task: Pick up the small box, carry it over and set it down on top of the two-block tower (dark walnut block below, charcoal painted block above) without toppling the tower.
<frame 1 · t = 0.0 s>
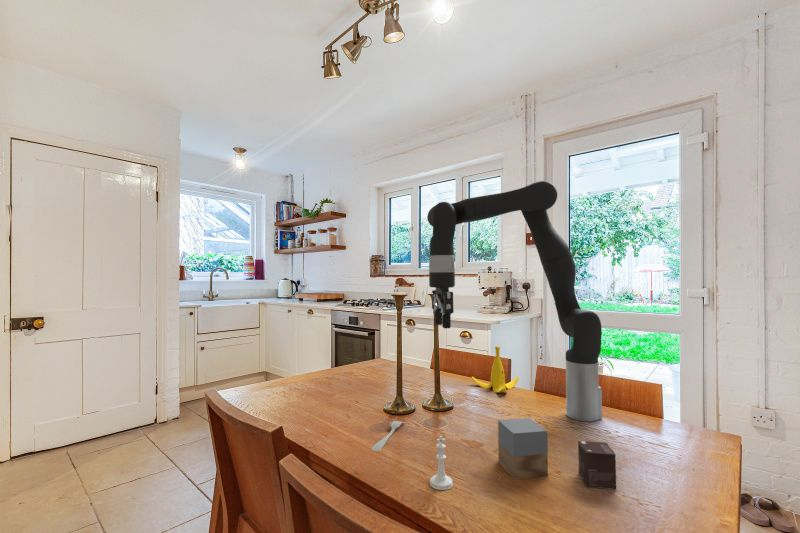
hand: (442, 326, 114), 29 cm above the table, fingers open, 8 cm apart
chess piece: (441, 484, 83), on the table
tower top: (522, 447, 89), point 5 cm above the table, touching tower bottom
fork: (390, 437, 108), on the table
banana peel: (491, 388, 153), on the table
box: (596, 482, 83), on the table
tower bottom: (522, 469, 89), on the table, touching tower top
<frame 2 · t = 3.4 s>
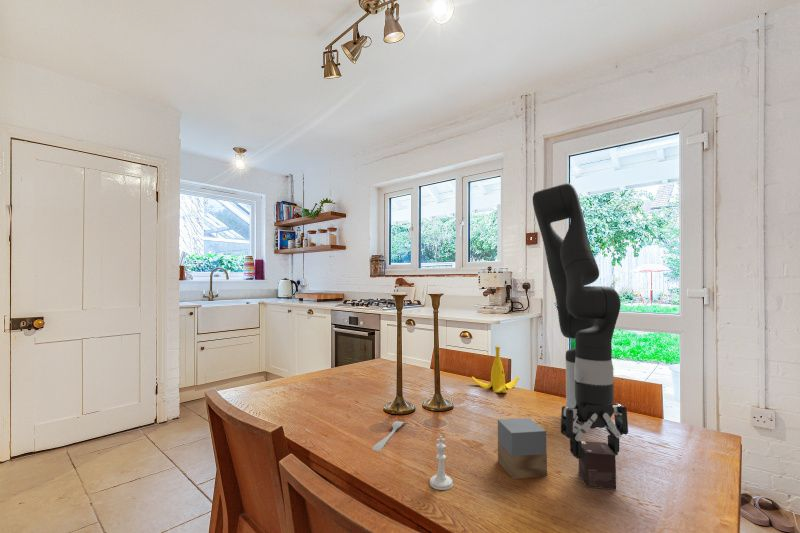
hand: (594, 455, 83), 6 cm above the table, fingers open, 8 cm apart
tower top: (521, 447, 89), point 5 cm above the table
box: (596, 482, 83), on the table, touching gripper
tower bottom: (521, 469, 89), on the table
everything else where it was.
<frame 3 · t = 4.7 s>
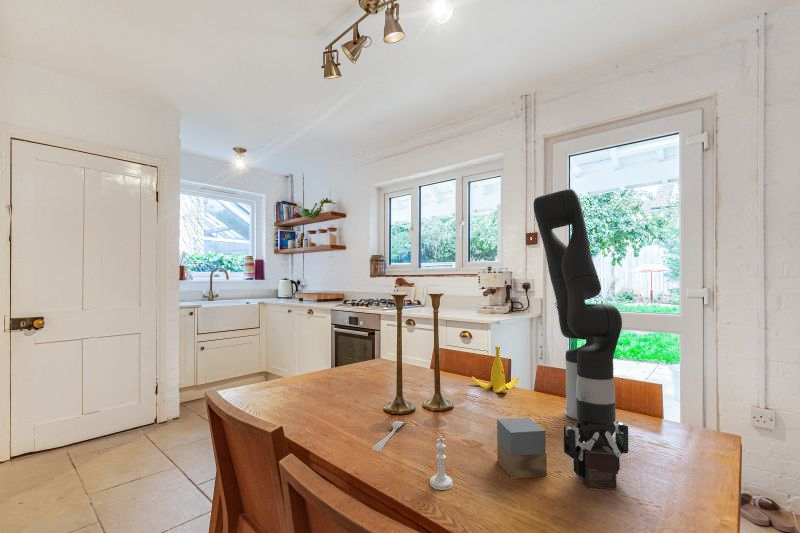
hand: (596, 474, 83), 1 cm above the table, fingers closed on box, 7 cm apart
tower top: (520, 446, 89), point 5 cm above the table, touching tower bottom
box: (596, 482, 83), on the table, touching gripper
tower bottom: (521, 468, 89), on the table, touching tower top
everything else where it was.
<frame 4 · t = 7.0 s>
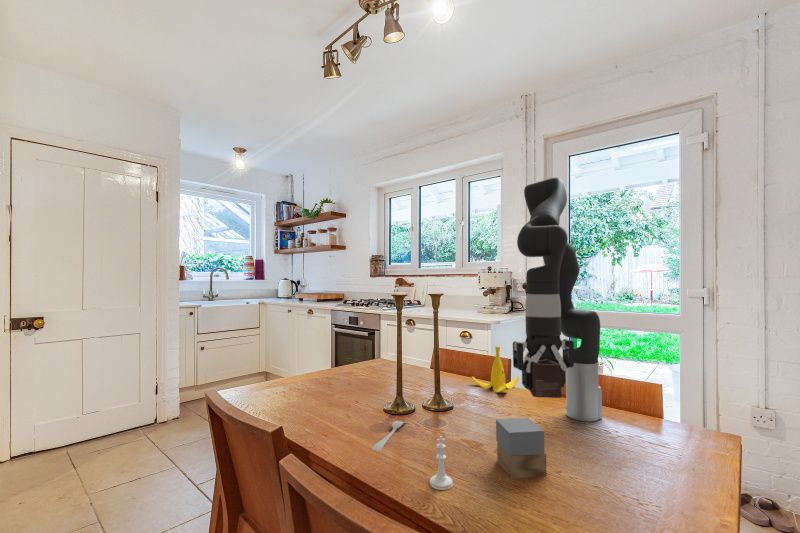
hand: (543, 387, 87), 19 cm above the table, fingers closed on box, 7 cm apart
box: (544, 395, 87), point 17 cm above the table, touching gripper
everything else where it was.
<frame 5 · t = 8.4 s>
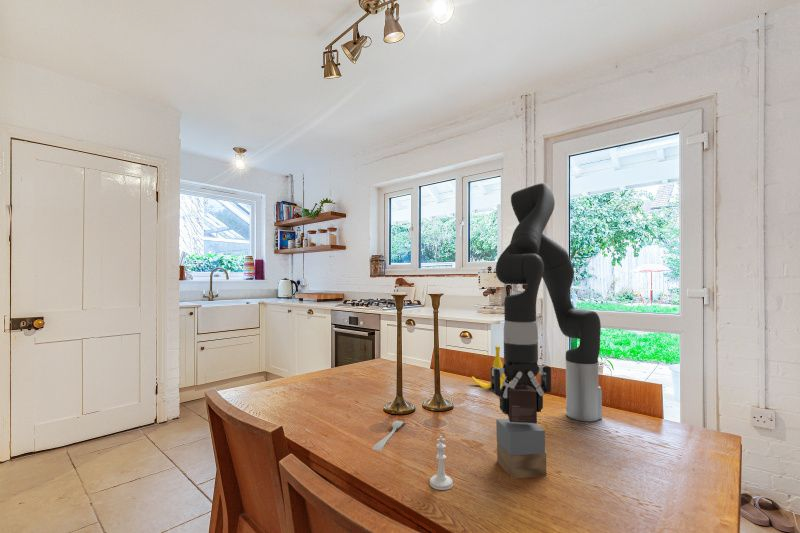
hand: (521, 412, 89), 13 cm above the table, fingers closed on box, 7 cm apart
box: (521, 419, 89), point 11 cm above the table, touching gripper
everything else where it was.
when the fingers open (12 cm above the table, at t = 9.5 s): box drops 1 cm, resting on tower top.
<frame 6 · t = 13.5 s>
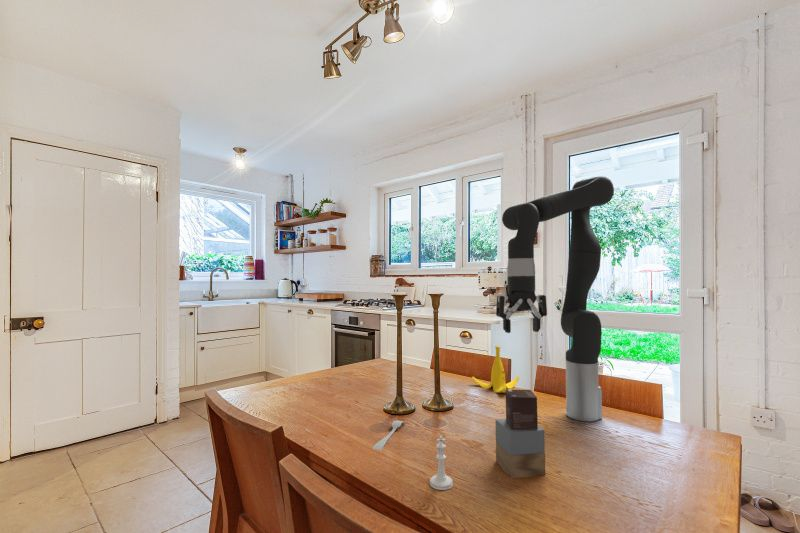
hand: (521, 332, 110), 28 cm above the table, fingers open, 8 cm apart
tower top: (519, 446, 90), point 5 cm above the table, touching box, tower bottom
box: (521, 426, 90), point 9 cm above the table, touching tower top
everything else where it was.
at the end: box inside the target area on the tower top (0.6 cm from its centre), point 4.8 cm above the tower top's base; tower top tilted 0°; the gripper is holding nothing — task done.
